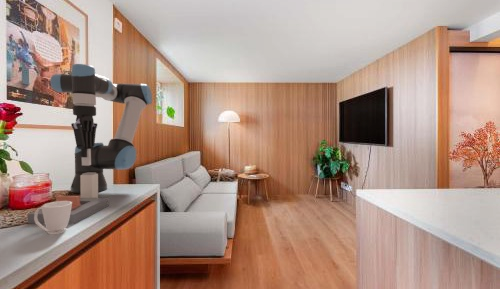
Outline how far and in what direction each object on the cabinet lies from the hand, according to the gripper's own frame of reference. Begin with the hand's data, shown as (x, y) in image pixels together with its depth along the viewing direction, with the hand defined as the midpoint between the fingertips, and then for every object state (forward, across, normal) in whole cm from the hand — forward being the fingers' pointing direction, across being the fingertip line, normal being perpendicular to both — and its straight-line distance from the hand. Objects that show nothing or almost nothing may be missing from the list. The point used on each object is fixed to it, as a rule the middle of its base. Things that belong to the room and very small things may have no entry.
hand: (86, 165), depth 98 cm
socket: (+15, +13, +2) cm, 20 cm away
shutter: (+12, +18, +2) cm, 21 cm away
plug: (+16, -4, -2) cm, 16 cm away
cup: (+14, +29, +7) cm, 33 cm away
